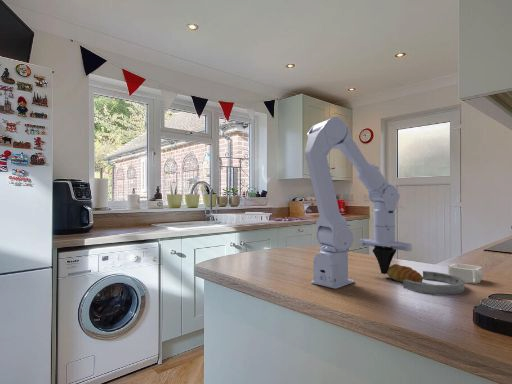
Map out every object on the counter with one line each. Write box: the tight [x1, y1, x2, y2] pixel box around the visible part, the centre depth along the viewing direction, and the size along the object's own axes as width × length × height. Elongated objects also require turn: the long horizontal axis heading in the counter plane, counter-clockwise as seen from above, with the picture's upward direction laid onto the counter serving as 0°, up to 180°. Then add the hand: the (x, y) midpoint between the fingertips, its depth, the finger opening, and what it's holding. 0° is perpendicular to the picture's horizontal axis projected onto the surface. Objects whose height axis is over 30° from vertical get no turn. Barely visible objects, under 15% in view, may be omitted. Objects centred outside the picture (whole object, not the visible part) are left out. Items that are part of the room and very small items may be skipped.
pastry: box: [386, 263, 424, 283], centre depth 90 cm, size 9×7×4 cm
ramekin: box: [448, 263, 483, 284], centre depth 90 cm, size 7×7×4 cm
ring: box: [402, 270, 465, 296], centre depth 83 cm, size 15×12×2 cm
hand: (384, 273), depth 93 cm, fingers closed
